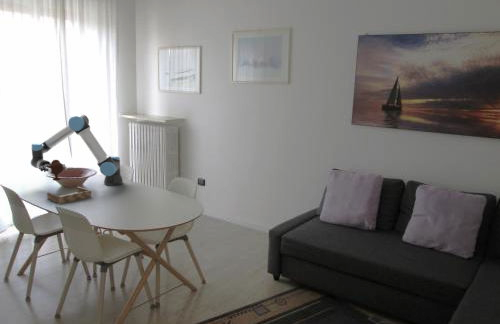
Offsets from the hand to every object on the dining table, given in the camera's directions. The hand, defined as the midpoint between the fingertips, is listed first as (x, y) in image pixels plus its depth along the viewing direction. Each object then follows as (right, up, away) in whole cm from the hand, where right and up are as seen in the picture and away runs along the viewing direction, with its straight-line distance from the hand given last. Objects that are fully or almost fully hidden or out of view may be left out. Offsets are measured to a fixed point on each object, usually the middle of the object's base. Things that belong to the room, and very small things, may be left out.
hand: (58, 169), depth 303 cm
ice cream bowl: (-3, -8, +4) cm, 10 cm away
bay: (+10, -21, -3) cm, 24 cm away
